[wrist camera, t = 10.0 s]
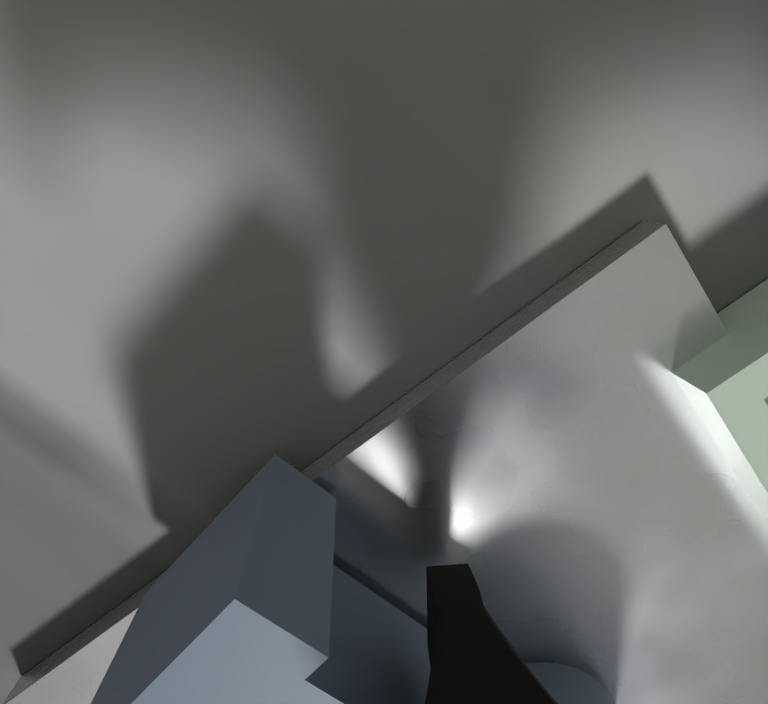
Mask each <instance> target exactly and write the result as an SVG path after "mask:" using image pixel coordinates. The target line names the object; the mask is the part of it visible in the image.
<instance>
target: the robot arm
mask: <svg viewBox="0 0 768 704" xmlns="http://www.w3.org/2000/svg"><path fill="white" fill-rule="evenodd" d="M426 579H427V645H428V653H429V661H430V668H431V670H430V676H429V682H428V688H427V694H426V700H425V704H558V703H557V702H556V701H555V700H554V699H553V697H552V696H551V695H550V694H549V693H548V691H547V690H546V689H545V688H544V686H543V685H542V684H541V683H540V682H539V680H538V679H537V678H536V677H535V675H534V674H533V673H532V672H531V670H530V669H529V668H528V667H527V665H526V664H525V663H524V661H523V660H522V659H521V657H520V656H519V655H518V653H517V652H516V651H515V649H514V648H513V647H512V645H511V644H510V642H509V641H508V640H507V638H506V637H505V636H504V634H503V633H502V632H501V630H500V629H499V627H498V626H497V624H496V623H495V622H494V620H493V619H492V617H491V616H490V614H489V613H488V611H487V610H486V608H485V607H484V605H483V601H482V597H481V593H480V590H479V587H478V585H477V582H476V580H475V578H474V575H473V573H472V571H471V569H470V567H469V565H468V563H466V564H452V565H439V566H426Z"/></svg>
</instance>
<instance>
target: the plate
mask: <svg viewBox="0 0 768 704" xmlns="http://www.w3.org/2000/svg"><path fill="white" fill-rule="evenodd" d="M727 334H728V332H727V330H726V328H725V327H724V325H723V323H722V321H721V320H720V318H719V316H718V314H717V313H716V311H715V309H714V307H713V306H712V304H711V302H710V300H709V299H708V297H707V295H706V293H705V292H704V290H703V288H702V286H701V284H700V283H699V281H698V279H697V277H696V276H695V274H694V272H693V270H692V269H691V267H690V265H689V263H688V262H687V260H686V258H685V256H684V255H683V253H682V251H681V249H680V248H679V246H678V244H677V242H676V240H675V239H674V237H673V235H672V233H671V232H670V230H669V228H668V226H667V225H666V224H664V223H657V222H650V221H642V222H640V223H639V224H638V225H636V226H635V227H634V228H632V229H631V230H629V231H628V232H627V233H625V234H624V235H623V236H621V237H620V238H619V239H617V240H616V241H614V242H613V243H612V244H610V245H609V246H608V247H606V248H605V249H604V250H602V251H601V252H599V253H598V254H597V255H595V256H594V257H593V258H591V259H590V260H589V261H587V262H586V263H584V264H583V265H582V266H580V267H579V268H578V269H576V270H575V271H574V272H572V273H571V274H569V275H568V276H567V277H565V278H564V279H563V280H561V281H560V282H559V283H557V284H556V285H555V286H553V287H552V288H550V289H549V290H548V291H546V292H545V293H544V294H542V295H541V296H540V297H538V298H537V299H535V300H534V301H533V302H531V303H530V304H529V305H527V306H526V307H525V308H523V309H522V310H520V311H519V312H518V313H516V314H515V315H514V316H512V317H511V318H510V319H508V320H507V321H505V322H504V323H503V324H501V325H500V326H499V327H497V328H496V329H495V330H493V331H492V332H490V333H489V334H488V335H486V336H485V337H484V338H482V339H481V340H480V341H478V342H477V343H475V344H474V345H473V346H471V347H470V348H469V349H467V350H466V351H465V352H463V353H462V354H460V355H459V356H458V357H456V358H455V359H454V360H452V361H451V362H450V363H448V364H447V365H446V366H444V367H443V368H441V369H440V370H439V371H437V372H436V373H435V374H433V375H432V376H431V377H429V378H428V379H426V380H425V381H424V382H422V383H421V384H420V385H418V386H417V387H416V388H414V389H413V390H411V391H410V392H409V393H407V394H406V395H405V396H403V397H402V398H401V399H399V400H398V401H396V402H395V403H394V404H392V405H391V406H390V407H388V408H387V409H386V410H384V411H383V412H381V413H380V414H379V415H377V416H376V417H375V418H373V419H372V420H371V421H369V422H368V423H366V424H365V425H364V426H362V427H361V428H360V429H358V430H357V431H356V432H354V433H353V434H351V435H350V436H349V437H347V438H346V439H345V440H343V441H342V442H341V443H339V444H338V445H337V446H335V447H334V448H332V449H331V450H330V451H328V452H327V453H326V454H324V455H323V456H322V457H320V458H319V459H317V460H316V461H315V462H313V463H312V464H311V465H309V466H308V467H307V468H305V469H304V470H302V471H301V473H302V474H303V475H305V476H306V477H307V478H309V479H310V480H312V481H313V482H314V483H316V484H317V485H318V486H320V487H321V488H323V489H324V490H325V491H327V492H328V493H329V494H331V495H332V496H334V497H335V498H336V515H335V536H334V557H333V565H335V566H336V567H338V568H339V569H340V570H342V571H343V572H345V573H346V574H348V575H349V576H351V577H352V578H354V579H355V580H356V581H358V582H359V583H361V584H362V585H364V586H365V587H367V588H368V589H370V590H371V591H373V592H374V593H375V594H377V595H378V596H380V597H381V598H383V599H384V600H386V601H387V602H389V603H390V604H392V605H393V606H394V607H396V608H397V609H399V610H400V611H402V612H403V613H405V614H406V615H408V616H409V617H411V618H412V619H413V620H415V621H416V622H418V623H419V624H421V625H422V626H424V627H425V628H427V579H426V566H439V565H452V564H466V563H468V565H469V567H470V569H471V571H472V573H473V575H474V578H475V580H476V582H477V585H478V587H479V590H480V593H481V597H482V601H483V605H484V607H485V608H486V610H487V611H488V613H489V614H490V616H491V617H492V619H493V620H494V622H495V623H496V624H497V626H498V627H499V629H500V630H501V632H502V633H503V634H504V636H505V637H506V638H507V640H508V641H509V642H510V644H511V645H512V647H513V648H514V649H515V651H516V652H517V653H518V655H519V656H520V657H521V659H522V660H523V661H524V663H537V662H545V663H557V664H562V665H567V666H571V667H574V668H577V669H580V670H582V671H584V672H586V673H588V674H590V675H592V676H593V677H595V678H596V679H597V680H599V681H600V682H601V683H602V684H603V685H604V686H605V687H606V688H607V689H608V691H609V692H610V693H611V695H612V697H613V699H614V701H615V703H616V704H768V526H767V524H766V522H765V521H764V519H763V518H762V516H761V514H760V513H759V511H758V510H757V508H756V506H755V505H754V503H753V502H752V500H751V498H750V497H749V495H748V494H747V492H746V491H745V489H744V487H743V486H742V484H741V483H740V481H739V479H738V478H737V476H736V475H735V473H734V471H733V470H732V468H731V467H730V465H729V463H728V462H727V460H726V459H725V457H724V455H723V454H722V452H721V451H720V449H719V447H718V446H717V444H716V443H715V441H714V439H713V438H712V436H711V435H710V433H709V431H708V430H707V428H706V427H705V425H704V424H703V422H702V420H701V419H700V417H699V416H698V414H697V412H696V411H695V409H694V408H693V406H692V404H691V403H690V401H689V400H688V398H687V396H686V395H685V393H684V392H683V390H682V388H681V387H680V385H679V384H678V382H677V380H676V379H675V377H674V376H673V374H672V372H673V371H674V370H676V369H677V368H679V367H680V366H682V365H683V364H685V363H686V362H688V361H689V360H691V359H692V358H694V357H695V356H696V355H698V354H699V353H701V352H702V351H704V350H705V349H707V348H708V347H710V346H711V345H713V344H714V343H716V342H717V341H719V340H720V339H722V338H723V337H725V336H726V335H727ZM764 401H765V403H766V404H767V406H768V402H767V401H766V399H764ZM163 573H164V572H163ZM163 573H162V574H161V575H159V576H158V577H157V578H155V579H154V580H153V581H151V582H150V583H148V584H147V585H146V586H144V587H143V588H142V589H140V590H139V591H138V592H136V593H135V594H133V595H132V596H131V597H129V598H128V599H127V600H125V601H124V602H123V603H121V604H120V605H119V606H117V607H116V608H114V609H113V610H112V611H110V612H109V613H108V614H106V615H105V616H104V617H102V618H101V619H99V620H98V621H97V622H95V623H94V624H93V625H91V626H90V627H89V628H87V629H86V630H84V631H83V632H82V633H80V634H79V635H78V636H76V637H75V638H74V639H72V640H71V641H69V642H68V643H67V644H65V645H64V646H63V647H61V648H60V649H59V650H57V651H56V652H54V653H53V654H52V655H50V656H49V657H48V658H46V659H45V660H44V661H42V662H41V663H39V664H38V665H37V666H35V667H34V668H33V669H31V670H30V671H29V672H27V673H26V674H24V675H23V676H22V677H20V679H19V680H18V682H17V683H16V685H15V686H14V688H13V689H12V691H11V692H10V694H9V695H8V697H7V698H6V700H5V701H4V703H3V704H91V702H92V700H93V698H94V696H95V694H96V692H97V690H98V688H99V686H100V684H101V682H102V680H103V678H104V676H105V674H106V672H107V670H108V668H109V666H110V664H111V662H112V660H113V658H114V656H115V654H116V652H117V650H118V648H119V646H120V644H121V642H122V640H123V638H124V635H125V633H126V631H127V629H128V627H129V625H130V623H131V621H132V619H133V617H134V615H135V613H136V611H137V609H138V607H139V605H140V603H141V601H142V599H143V597H144V595H145V593H146V592H147V591H148V590H149V588H150V587H151V586H152V585H153V584H154V583H155V582H156V581H157V580H158V579H159V578H160V577H161V576H162V575H163Z"/></svg>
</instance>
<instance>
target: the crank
mask: <svg viewBox="0 0 768 704" xmlns="http://www.w3.org/2000/svg"><path fill="white" fill-rule="evenodd" d="M335 515H336V498H335V497H334V496H332V495H331V494H329V493H328V492H327V491H325V490H324V489H323V488H321V487H320V486H318V485H317V484H316V483H314V482H313V481H312V480H310V479H309V478H307V477H306V476H305V475H303V474H302V473H301V472H299V471H298V470H296V469H295V468H294V467H292V466H291V465H290V464H288V463H287V462H285V461H284V460H283V459H281V458H280V457H279V456H277V455H276V454H274V455H273V456H272V458H271V459H270V460H269V461H268V462H267V463H266V464H265V465H264V466H263V467H262V468H261V469H260V470H259V472H258V473H257V474H256V475H255V476H254V477H253V478H252V479H251V480H250V481H249V482H248V483H247V484H246V485H245V487H244V488H243V489H242V490H241V491H240V492H239V493H238V494H237V495H236V496H235V497H234V498H233V499H232V500H231V502H230V503H229V504H228V505H227V506H226V507H225V508H224V509H223V510H222V511H221V512H220V513H219V514H218V516H217V517H216V518H215V519H214V520H213V521H212V522H211V523H210V524H209V525H208V526H207V527H206V528H205V529H204V531H203V532H202V533H201V534H200V535H199V536H198V537H197V538H196V539H195V540H194V541H193V542H192V543H191V544H190V546H189V547H188V548H187V549H186V550H185V551H184V552H183V553H182V554H181V555H180V556H179V557H178V558H177V560H176V561H175V562H174V563H173V564H172V565H171V566H170V567H169V568H168V569H167V570H166V571H165V572H164V573H163V575H162V576H161V577H160V578H159V579H158V580H157V581H156V582H155V583H154V584H153V585H152V586H151V587H150V588H149V590H148V591H147V592H146V593H145V595H144V597H143V599H142V601H141V603H140V605H139V607H138V609H137V611H136V613H135V615H134V617H133V619H132V621H131V623H130V625H129V627H128V629H127V631H126V633H125V635H124V638H123V640H122V642H121V644H120V646H119V648H118V650H117V652H116V654H115V656H114V658H113V660H112V662H111V664H110V666H109V668H108V670H107V672H106V674H105V676H104V678H103V680H102V682H101V684H100V686H99V688H98V690H97V692H96V694H95V696H94V698H93V700H92V702H91V704H425V700H426V694H427V688H428V682H429V676H430V670H431V668H430V661H429V653H428V645H427V628H425V627H424V626H422V625H421V624H419V623H418V622H416V621H415V620H413V619H412V618H411V617H409V616H408V615H406V614H405V613H403V612H402V611H400V610H399V609H397V608H396V607H394V606H393V605H392V604H390V603H389V602H387V601H386V600H384V599H383V598H381V597H380V596H378V595H377V594H375V593H374V592H373V591H371V590H370V589H368V588H367V587H365V586H364V585H362V584H361V583H359V582H358V581H356V580H355V579H354V578H352V577H351V576H349V575H348V574H346V573H345V572H343V571H342V570H340V569H339V568H338V567H336V566H335V565H333V557H334V536H335ZM525 664H526V665H527V667H528V668H529V669H530V670H531V672H532V673H533V674H534V675H535V677H536V678H537V679H538V680H539V682H540V683H541V684H542V685H543V686H544V688H545V689H546V690H547V691H548V693H549V694H550V695H551V696H552V697H553V699H554V700H555V701H556V702H557V703H558V704H616V703H615V701H614V699H613V697H612V695H611V693H610V692H609V691H608V689H607V688H606V687H605V686H604V685H603V684H602V683H601V682H600V681H599V680H597V679H596V678H595V677H593V676H592V675H590V674H588V673H586V672H584V671H582V670H580V669H577V668H574V667H571V666H567V665H562V664H557V663H545V662H537V663H525Z"/></svg>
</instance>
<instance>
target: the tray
mask: <svg viewBox="0 0 768 704" xmlns="http://www.w3.org/2000/svg"><path fill="white" fill-rule="evenodd" d="M717 314H718V316H719V318H720V320H721V321H722V323H723V325H724V327H725V328H726V330H727V332H728V334H727V335H726V336H725V337H723V338H722V339H720V340H719V341H717V342H716V343H714V344H713V345H711V346H710V347H708V348H707V349H705V350H704V351H702V352H701V353H699V354H698V355H696V356H695V357H694V358H692V359H691V360H689V361H688V362H686V363H685V364H683V365H682V366H680V367H679V368H677V369H676V370H674V371H673V372H672V374H673V376H674V377H675V379H676V380H677V382H678V384H679V385H680V387H681V388H682V390H683V392H684V393H685V395H686V396H687V398H688V400H689V401H690V403H691V404H692V406H693V408H694V409H695V411H696V412H697V414H698V416H699V417H700V419H701V420H702V422H703V424H704V425H705V427H706V428H707V430H708V431H709V433H710V435H711V436H712V438H713V439H714V441H715V443H716V444H717V446H718V447H719V449H720V451H721V452H722V454H723V455H724V457H725V459H726V460H727V462H728V463H729V465H730V467H731V468H732V470H733V471H734V473H735V475H736V476H737V478H738V479H739V481H740V483H741V484H742V486H743V487H744V489H745V491H746V492H747V494H748V495H749V497H750V498H751V500H752V502H753V503H754V505H755V506H756V508H757V510H758V511H759V513H760V514H761V516H762V518H763V519H764V521H765V522H766V524H767V526H768V406H767V404H766V403H765V401H764V399H766V401H767V402H768V279H767V280H765V281H764V282H762V283H761V284H759V285H758V286H756V287H755V288H754V289H752V290H751V291H749V292H748V293H746V294H745V295H743V296H742V297H740V298H739V299H738V300H736V301H735V302H733V303H732V304H730V305H729V306H727V307H726V308H724V309H723V310H721V311H720V312H719V313H717Z"/></svg>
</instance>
